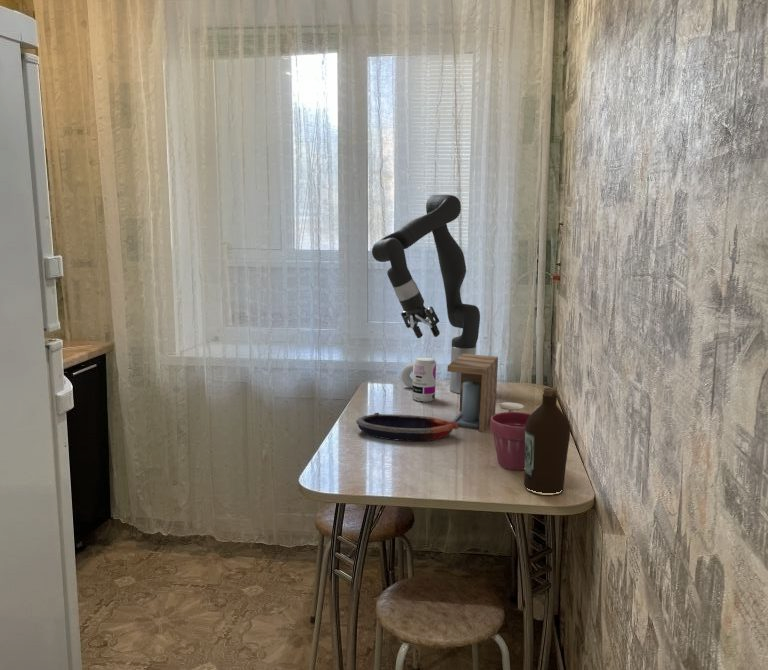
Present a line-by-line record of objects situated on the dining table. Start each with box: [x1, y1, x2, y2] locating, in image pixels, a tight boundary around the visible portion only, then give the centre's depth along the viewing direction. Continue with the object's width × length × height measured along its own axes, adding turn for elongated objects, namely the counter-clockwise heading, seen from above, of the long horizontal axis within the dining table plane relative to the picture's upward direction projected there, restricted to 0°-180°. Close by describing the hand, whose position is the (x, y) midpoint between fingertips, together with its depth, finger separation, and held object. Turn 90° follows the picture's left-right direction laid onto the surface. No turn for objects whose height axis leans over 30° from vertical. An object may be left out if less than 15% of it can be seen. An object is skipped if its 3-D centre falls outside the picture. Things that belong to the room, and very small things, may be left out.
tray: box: [451, 411, 480, 430], centre depth 222 cm, size 14×9×1 cm, turn 161°
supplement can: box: [411, 356, 437, 403], centre depth 246 cm, size 8×8×15 cm
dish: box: [355, 412, 458, 442], centre depth 207 cm, size 16×31×5 cm, turn 81°
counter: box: [446, 354, 499, 433], centre depth 221 cm, size 21×12×20 cm, turn 161°
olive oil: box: [523, 387, 571, 493], centre depth 166 cm, size 11×11×25 cm
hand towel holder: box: [498, 401, 525, 412], centre depth 221 cm, size 17×4×21 cm
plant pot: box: [489, 411, 532, 470], centre depth 183 cm, size 14×14×13 cm
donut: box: [400, 362, 413, 389], centre depth 262 cm, size 10×4×10 cm, turn 77°
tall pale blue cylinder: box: [462, 382, 481, 422], centre depth 221 cm, size 6×6×12 cm
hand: (428, 336), depth 231 cm, fingers open, 8 cm apart
